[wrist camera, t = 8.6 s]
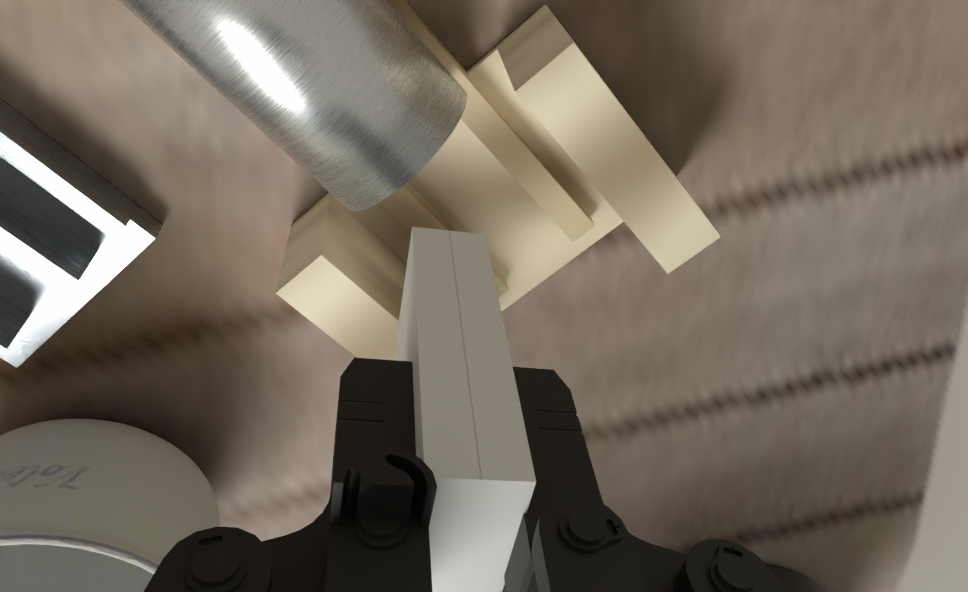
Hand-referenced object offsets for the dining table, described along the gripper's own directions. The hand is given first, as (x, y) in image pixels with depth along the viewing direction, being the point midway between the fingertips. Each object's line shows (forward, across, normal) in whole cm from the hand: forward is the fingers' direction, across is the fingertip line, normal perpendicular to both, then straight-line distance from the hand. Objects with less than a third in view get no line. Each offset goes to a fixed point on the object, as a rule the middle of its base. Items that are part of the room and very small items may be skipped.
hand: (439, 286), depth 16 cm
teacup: (+11, +12, +20) cm, 26 cm away
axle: (+11, +4, -3) cm, 12 cm away
